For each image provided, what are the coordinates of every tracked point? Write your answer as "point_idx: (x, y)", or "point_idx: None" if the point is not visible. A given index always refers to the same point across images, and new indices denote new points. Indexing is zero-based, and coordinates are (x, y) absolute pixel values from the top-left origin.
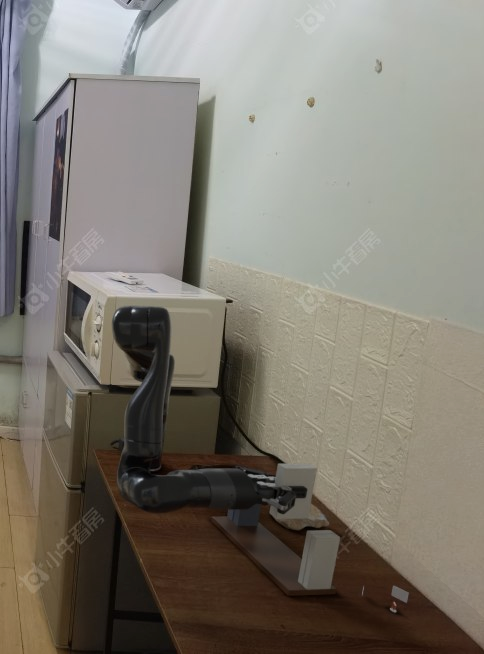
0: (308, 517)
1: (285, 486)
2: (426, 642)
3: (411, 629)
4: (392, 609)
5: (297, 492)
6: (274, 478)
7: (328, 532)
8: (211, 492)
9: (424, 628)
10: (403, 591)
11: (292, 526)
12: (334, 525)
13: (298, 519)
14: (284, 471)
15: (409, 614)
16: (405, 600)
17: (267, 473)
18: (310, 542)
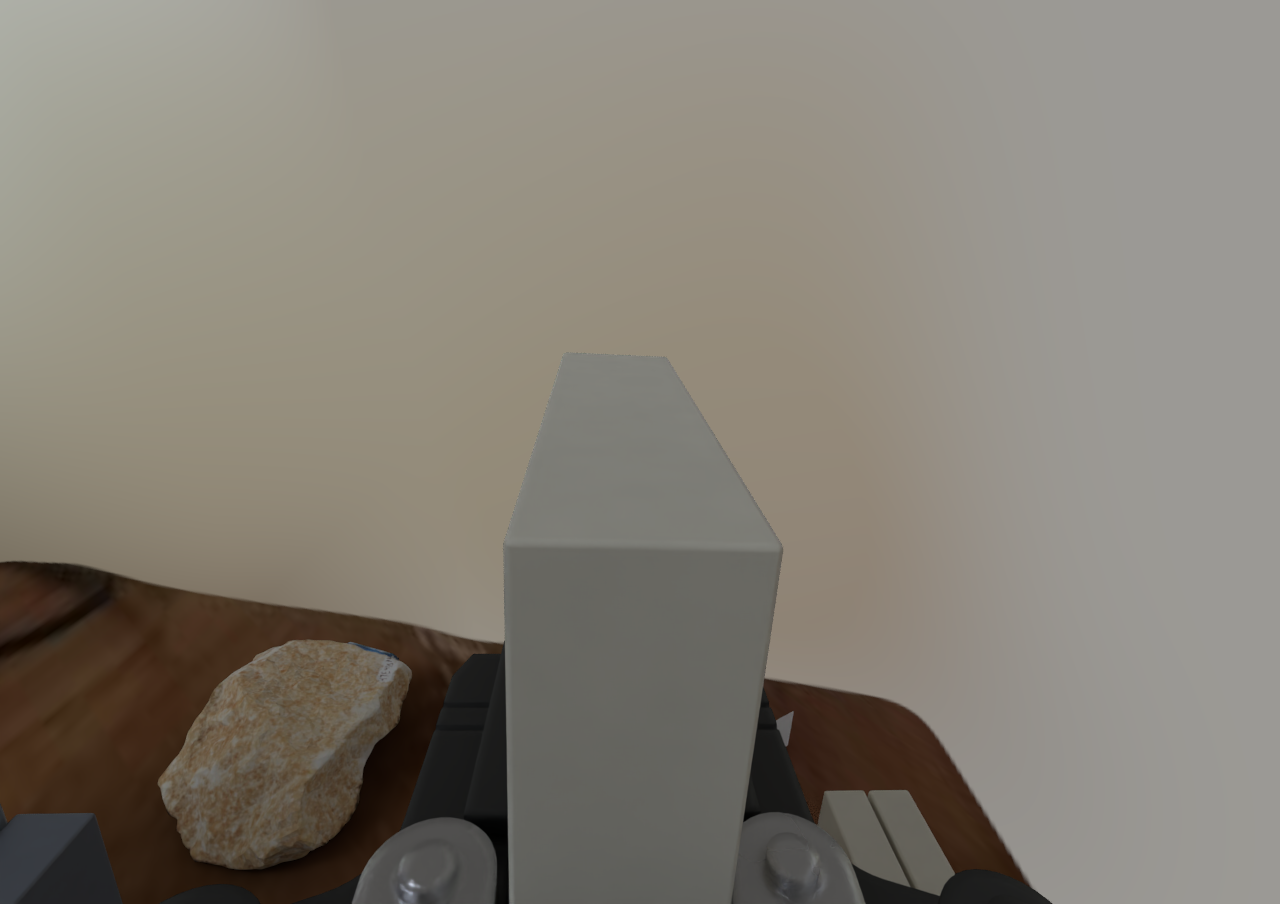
0: (356, 715)
1: (753, 889)
2: (997, 845)
3: (939, 842)
4: None
5: (790, 779)
6: (442, 895)
7: (873, 832)
8: None
9: (908, 790)
10: (782, 720)
11: (328, 826)
12: (388, 652)
13: (332, 766)
14: (762, 636)
15: (844, 781)
16: (785, 741)
17: (215, 895)
18: None
